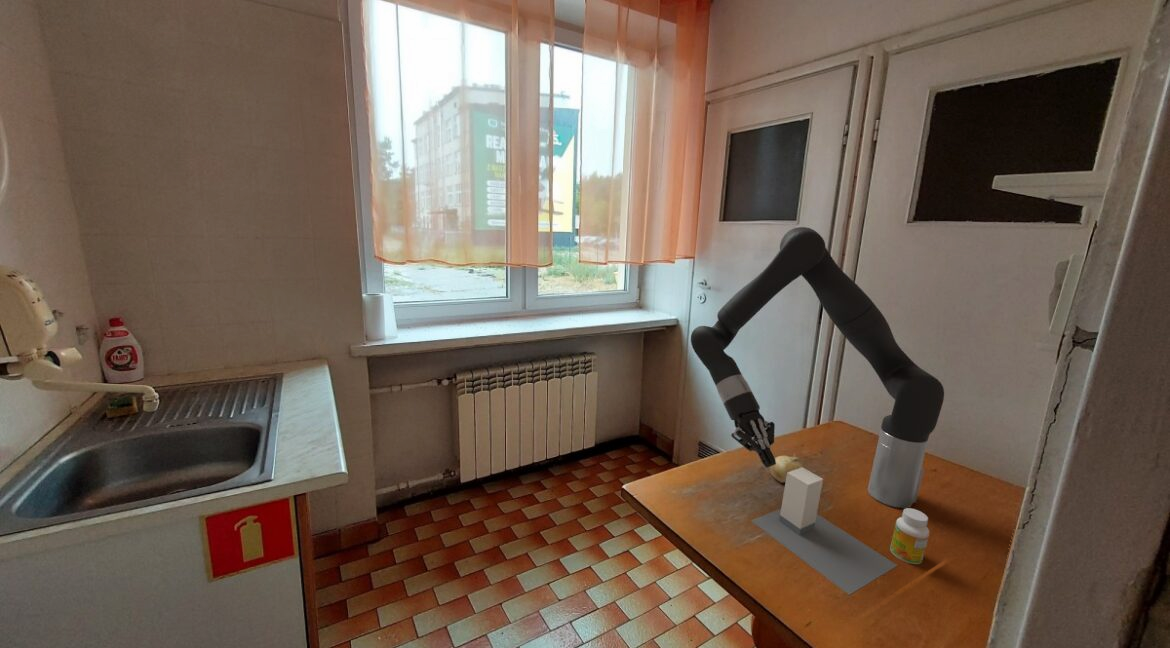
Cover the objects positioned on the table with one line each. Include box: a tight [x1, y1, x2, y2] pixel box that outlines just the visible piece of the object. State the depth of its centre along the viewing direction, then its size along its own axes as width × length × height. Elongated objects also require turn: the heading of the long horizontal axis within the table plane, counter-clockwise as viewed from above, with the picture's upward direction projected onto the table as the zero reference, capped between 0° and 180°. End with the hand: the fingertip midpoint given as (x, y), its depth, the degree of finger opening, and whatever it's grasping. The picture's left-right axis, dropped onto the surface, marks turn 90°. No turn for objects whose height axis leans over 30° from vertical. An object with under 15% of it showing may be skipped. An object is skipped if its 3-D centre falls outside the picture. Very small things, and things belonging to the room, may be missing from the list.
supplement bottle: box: [889, 507, 930, 565], centre depth 88 cm, size 5×5×10 cm
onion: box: [769, 453, 804, 484], centre depth 114 cm, size 8×8×7 cm
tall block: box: [779, 467, 824, 535], centre depth 95 cm, size 5×5×12 cm
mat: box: [750, 508, 898, 596], centre depth 91 cm, size 22×16×1 cm
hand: (771, 465), depth 101 cm, fingers closed
